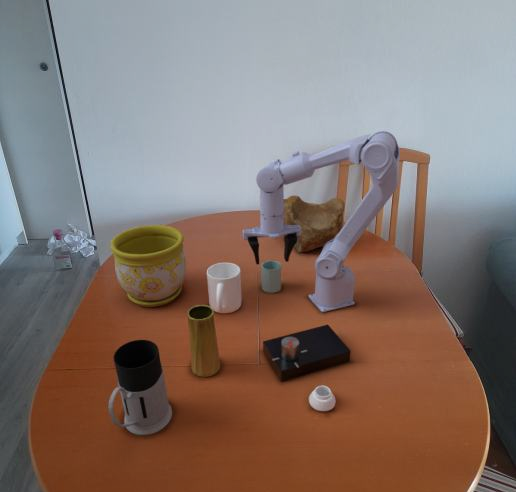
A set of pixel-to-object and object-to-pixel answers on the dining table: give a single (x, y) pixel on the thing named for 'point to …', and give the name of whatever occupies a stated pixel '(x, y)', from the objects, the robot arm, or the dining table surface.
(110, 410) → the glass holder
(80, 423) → the dining table surface
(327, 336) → the hob
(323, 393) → the white jar
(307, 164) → the robot arm
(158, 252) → the flowerpot
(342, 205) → the rough brown rock
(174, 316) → the dining table surface
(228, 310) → the mug
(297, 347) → the hob knob
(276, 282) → the cup
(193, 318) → the vase
